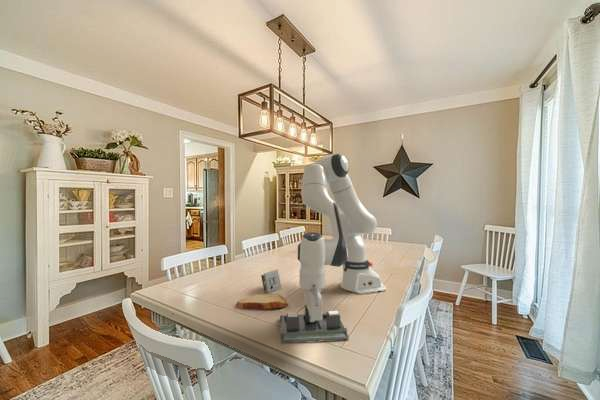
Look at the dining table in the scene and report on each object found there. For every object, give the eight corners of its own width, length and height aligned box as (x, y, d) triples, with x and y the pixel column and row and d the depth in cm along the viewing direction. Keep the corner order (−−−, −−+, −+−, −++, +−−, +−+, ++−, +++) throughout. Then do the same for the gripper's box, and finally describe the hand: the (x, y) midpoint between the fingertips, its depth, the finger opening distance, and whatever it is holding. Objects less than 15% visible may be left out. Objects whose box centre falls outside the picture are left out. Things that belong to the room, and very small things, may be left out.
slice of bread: (232, 306, 103) (232, 297, 103) (265, 293, 116) (265, 286, 116) (258, 321, 91) (258, 311, 91) (292, 305, 104) (292, 296, 104)
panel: (336, 316, 94) (336, 310, 94) (348, 339, 79) (348, 332, 79) (280, 319, 91) (280, 313, 91) (280, 343, 76) (280, 335, 76)
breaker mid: (315, 317, 90) (315, 303, 89) (316, 321, 87) (316, 306, 87) (304, 318, 89) (304, 303, 89) (305, 322, 86) (305, 307, 86)
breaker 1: (298, 327, 83) (298, 311, 83) (298, 332, 80) (299, 315, 80) (286, 328, 82) (286, 312, 82) (286, 332, 80) (286, 316, 80)
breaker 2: (337, 325, 84) (338, 310, 84) (340, 330, 81) (340, 314, 81) (326, 326, 84) (326, 310, 84) (328, 330, 81) (328, 314, 81)
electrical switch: (268, 293, 115) (266, 274, 115) (260, 292, 118) (259, 273, 119) (281, 288, 122) (280, 269, 123) (274, 286, 126) (273, 268, 126)
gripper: (327, 292, 73) (326, 337, 73) (316, 271, 94) (315, 306, 94) (307, 292, 73) (306, 338, 73) (300, 271, 93) (299, 307, 93)
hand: (311, 320), depth 84 cm, fingers closed
